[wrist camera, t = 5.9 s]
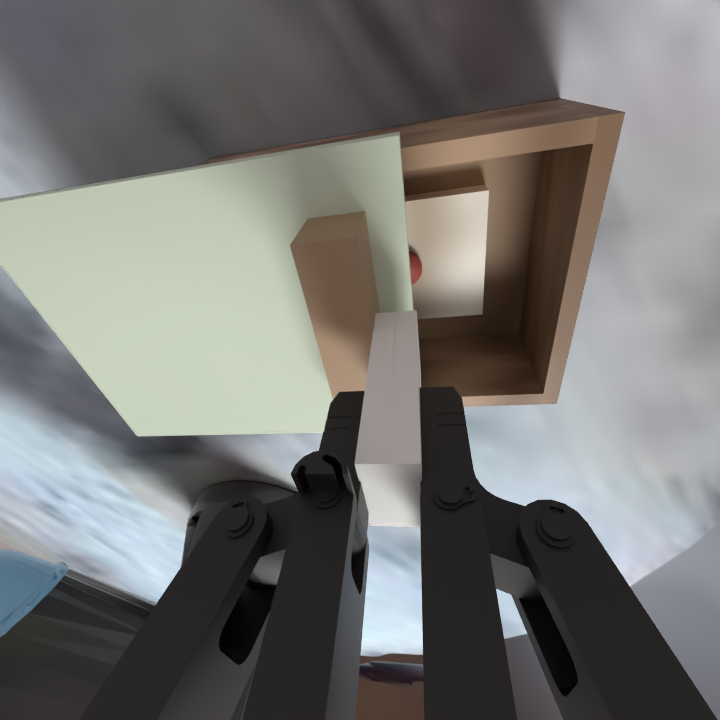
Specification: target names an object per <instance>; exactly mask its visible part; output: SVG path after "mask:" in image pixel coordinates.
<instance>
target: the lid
mask: <svg viewBox="0 0 720 720" xmlns="http://www.w3.org/2000/svg"><path fill="white" fill-rule="evenodd" d="M0 265H1V266H2V267H3V268H4V270H5V271H6V272H7V273H8V275H9V276H10V277H11V278H12V280H13V281H14V282H15V283H16V285H17V286H18V287H19V288H20V290H21V291H22V292H23V294H24V295H25V296H26V297H27V299H28V300H29V301H30V302H31V304H32V305H33V306H34V307H35V309H36V310H37V311H38V312H39V314H40V315H41V316H42V317H43V319H44V320H45V321H46V322H47V324H48V325H49V326H50V327H51V329H52V330H53V331H54V332H55V334H56V335H57V336H58V338H59V339H60V340H61V341H62V343H63V344H64V345H65V346H66V348H67V349H68V350H69V351H70V353H71V354H72V355H73V356H74V358H75V359H76V360H77V361H78V363H79V364H80V365H81V366H82V368H83V369H84V370H85V371H86V373H87V374H88V375H89V376H90V378H91V379H92V380H93V381H94V383H95V384H96V385H97V387H98V388H99V389H100V390H101V392H102V393H103V394H104V395H105V397H106V398H107V399H108V400H109V402H110V403H111V404H112V405H113V407H114V408H115V409H116V410H117V412H118V413H119V414H120V415H121V417H122V418H123V419H124V420H125V422H126V423H127V424H128V425H129V427H130V428H131V429H132V431H133V432H134V433H135V434H136V436H181V435H230V434H278V433H323V432H324V430H325V428H324V427H325V423H326V419H327V415H328V411H329V406H330V403H331V402H332V401H333V399H334V398H335V397H336V395H337V394H338V393H339V392H346V391H365V385H366V378H367V371H368V364H369V357H370V350H371V342H372V335H373V328H374V321H375V314H376V313H386V312H399V311H412V310H414V309H413V297H412V284H411V271H410V259H409V246H408V234H407V221H406V208H405V196H404V183H403V170H402V158H401V145H400V132H395V133H389V134H383V135H377V136H371V137H365V138H359V139H353V140H347V141H341V142H335V143H329V144H323V145H317V146H312V147H306V148H300V149H294V150H288V151H282V152H276V153H270V154H264V155H258V156H252V157H246V158H240V159H234V160H229V161H223V162H217V163H211V164H205V165H199V166H193V167H187V168H181V169H175V170H169V171H163V172H157V173H151V174H146V175H140V176H134V177H128V178H122V179H116V180H110V181H104V182H98V183H92V184H86V185H80V186H74V187H68V188H63V189H57V190H51V191H45V192H39V193H33V194H27V195H21V196H15V197H9V198H3V199H0Z"/></svg>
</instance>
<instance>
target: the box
mask: <svg viewBox="0 0 720 720" xmlns="http://www.w3.org/2000/svg"><path fill="white" fill-rule="evenodd" d="M624 115H625V112H621V111H617V110H612V109H608V108H603V107H598V106H594V105H589V104H584V103H580V102H575V101H571V100H566V99H561V98H559V99H553V100H548V101H542V102H536V103H530V104H524V105H519V106H513V107H507V108H501V109H495V110H489V111H484V112H478V113H472V114H466V115H460V116H454V117H449V118H443V119H437V120H431V121H425V122H419V123H414V124H408V125H402V126H396V127H390V128H384V129H379V130H373V131H367V132H361V133H355V134H349V135H344V136H338V137H332V138H326V139H320V140H314V141H309V142H303V143H297V144H291V145H285V146H279V147H274V148H268V149H262V150H256V151H250V152H244V153H239V154H233V155H227V156H221V157H215V158H212V159H210V160H208V161H206V162H203V163H201V164H199V165H205V164H211V163H217V162H223V161H229V160H234V159H240V158H246V157H252V156H258V155H264V154H270V153H276V152H282V151H288V150H294V149H300V148H306V147H312V146H317V145H323V144H329V143H335V142H341V141H347V140H353V139H359V138H365V137H371V136H377V135H383V134H389V133H395V132H400V145H401V158H402V170H403V183H404V196H405V208H406V221H407V234H408V246H409V259H410V271H411V284H412V297H413V309H414V310H417V323H418V338H419V353H420V369H421V388H425V387H451V386H453V387H454V388H455V390H456V391H457V392H458V394H459V395H460V396H461V398H462V401H463V407H466V406H498V405H529V404H557V400H558V396H559V392H560V387H561V383H562V379H563V375H564V370H565V366H566V362H567V358H568V353H569V349H570V345H571V340H572V336H573V332H574V328H575V323H576V319H577V315H578V311H579V306H580V302H581V298H582V294H583V289H584V285H585V281H586V277H587V272H588V268H589V264H590V259H591V255H592V251H593V247H594V242H595V238H596V234H597V230H598V225H599V221H600V217H601V213H602V208H603V204H604V200H605V196H606V191H607V187H608V183H609V178H610V174H611V170H612V166H613V161H614V157H615V153H616V149H617V144H618V140H619V136H620V132H621V127H622V123H623V119H624ZM199 165H197V166H199Z"/></svg>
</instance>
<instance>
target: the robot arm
mask: <svg viewBox="0 0 720 720" xmlns="http://www.w3.org/2000/svg"><path fill="white" fill-rule="evenodd" d="M324 428H325V430H324V432H323V436H322V440H321V444H320V448H319V451H316V452H312V453H310V454H308V455H306V456H304V457H303V458H302V459H301V460H300V461H299V462H298V463H297V464H296V465H295V467H294V469H293V471H292V473H291V476H292V478H293V480H294V482H295V485H296V487H297V489H298V491H299V492H297V493H296V494H295V493H293V492H290V491H288V490H285V489H282V488H279V487H275V486H272V485H267V484H262V483H256V482H245V481H235V482H225V483H220V484H216V485H213V486H211V487H209V488H207V489H205V490H204V491H203V492H202V493H201V494H200V495H199V497H198V498H197V501H196V503H195V505H194V507H193V509H192V511H191V513H190V515H189V518H188V523H187V530H186V536H185V543H184V550H183V557H182V563H181V568H180V570H179V571H178V573H177V574H176V576H175V577H174V579H173V580H172V582H171V583H170V585H169V586H168V588H167V589H166V591H165V592H164V594H163V595H162V597H161V598H160V599H159V601H158V602H157V603H156V602H154V601H151V600H148V599H146V598H143V597H140V596H138V595H135V594H132V593H130V592H127V591H124V590H122V589H119V588H117V587H114V586H112V585H109V584H106V583H104V582H101V581H99V580H96V579H94V578H91V577H89V576H86V575H83V574H81V573H78V572H76V571H73V570H71V569H69V566H68V565H67V564H65V563H63V562H58V563H52V562H49V561H46V560H43V559H40V558H37V557H34V556H30V555H27V554H24V553H21V552H18V551H14V550H0V720H355V712H356V700H357V688H358V676H359V664H360V652H361V640H362V628H363V616H364V604H365V592H366V580H367V567H368V555H369V544H368V538H367V527H368V519H369V522H370V526H398V527H421V571H422V619H423V667H424V714H425V720H517V716H516V710H515V704H514V698H513V692H512V685H511V680H510V673H509V668H508V661H507V655H506V649H505V643H504V636H503V630H502V624H501V618H500V612H499V605H498V599H497V593H496V589H499V590H501V591H504V592H506V593H509V594H511V595H512V597H513V600H514V602H515V605H516V607H517V609H518V612H519V614H520V617H521V619H522V621H523V624H524V626H525V629H526V631H527V633H528V636H529V638H530V641H531V643H532V645H533V648H534V650H535V653H536V655H537V657H538V660H539V662H540V665H541V667H542V669H543V672H544V674H545V676H546V679H547V681H548V684H549V686H550V689H551V691H552V693H553V696H554V698H555V701H556V703H557V705H558V708H559V710H560V713H561V715H562V717H563V720H717V718H716V717H715V715H714V714H713V712H712V711H711V709H710V708H709V706H708V705H707V703H706V702H705V700H704V699H703V697H702V696H701V694H700V692H699V691H698V690H697V688H696V687H695V685H694V684H693V682H692V680H691V679H690V677H689V676H688V674H687V673H686V671H685V670H684V668H683V667H682V665H681V664H680V662H679V661H678V659H677V658H676V656H675V655H674V653H673V652H672V650H671V649H670V647H669V646H668V644H667V643H666V641H665V639H664V638H663V637H662V635H661V633H660V632H659V631H658V629H657V628H656V626H655V624H654V623H653V621H652V620H651V618H650V617H649V615H648V614H647V612H646V611H645V609H644V608H643V606H642V605H641V603H640V602H639V600H638V599H637V597H636V596H635V594H634V593H633V591H632V590H631V588H630V586H629V585H628V583H627V582H626V580H625V579H624V577H623V576H622V574H621V573H620V571H619V570H618V568H617V567H616V565H615V564H614V562H613V561H612V559H611V558H610V556H609V555H608V553H607V552H606V550H605V549H604V547H603V546H602V544H601V543H600V541H599V540H598V538H597V537H596V535H595V533H594V532H593V530H592V529H591V527H590V526H589V524H588V523H587V522H586V521H585V520H584V518H583V517H582V516H581V515H580V514H579V513H578V512H577V511H575V510H574V509H572V508H571V507H569V506H567V505H566V504H564V503H561V502H557V501H554V500H537V501H534V502H532V503H530V504H527V506H522V505H519V504H516V503H513V502H510V501H506V500H503V499H501V498H499V497H496V496H494V495H493V494H491V493H490V492H488V491H487V490H486V489H485V488H484V487H483V486H482V485H481V484H480V483H479V481H478V480H477V478H476V477H475V473H474V470H473V464H472V458H471V452H470V445H469V439H468V433H467V427H466V420H465V415H464V407H463V401H462V398H461V396H460V395H459V394H458V392H457V391H456V390H455V388H454V387H453V386H451V387H425V388H421V369H420V353H419V338H418V323H417V310H412V311H399V312H386V313H376V314H375V321H374V328H373V335H372V342H371V350H370V357H369V364H368V371H367V378H366V385H365V391H346V392H339V393H338V394H337V395H336V397H335V398H334V399H333V401H332V402H331V403H330V406H329V411H328V415H327V419H326V423H325V427H324Z"/></svg>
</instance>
